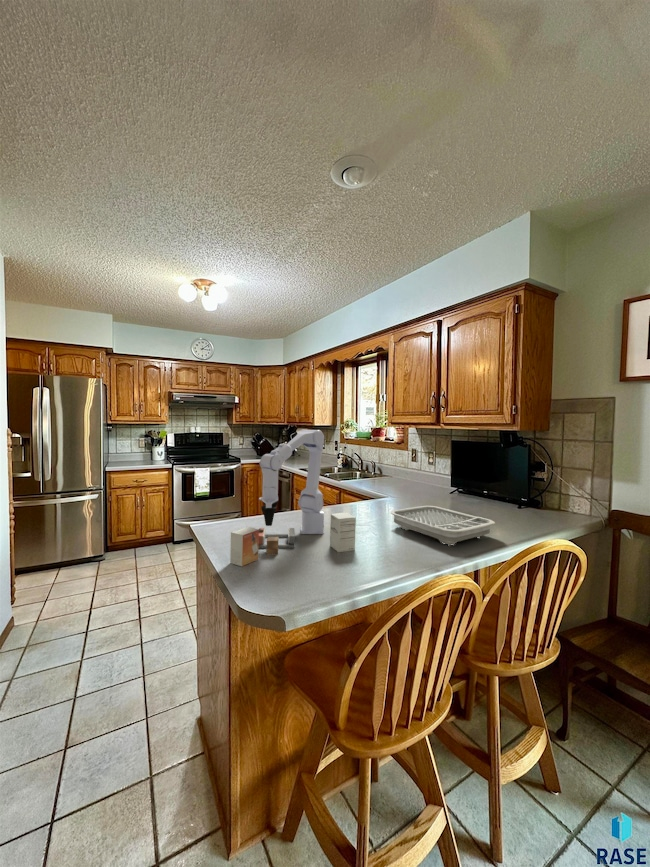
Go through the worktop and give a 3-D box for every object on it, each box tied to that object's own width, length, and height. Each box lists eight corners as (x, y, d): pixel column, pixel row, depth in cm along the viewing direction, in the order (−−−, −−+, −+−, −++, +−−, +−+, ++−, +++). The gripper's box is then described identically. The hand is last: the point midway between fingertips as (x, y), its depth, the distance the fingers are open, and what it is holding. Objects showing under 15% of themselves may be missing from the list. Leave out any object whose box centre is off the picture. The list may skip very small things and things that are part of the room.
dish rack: (430, 518, 179) (430, 502, 178) (500, 539, 148) (501, 521, 148) (384, 527, 161) (384, 510, 161) (452, 554, 131) (453, 533, 130)
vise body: (294, 536, 145) (294, 526, 145) (294, 548, 132) (294, 537, 132) (252, 536, 143) (252, 527, 143) (248, 548, 130) (248, 537, 130)
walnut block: (278, 550, 129) (278, 536, 129) (277, 554, 125) (278, 540, 125) (267, 550, 129) (267, 537, 129) (266, 554, 125) (266, 540, 125)
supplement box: (329, 545, 135) (330, 513, 134) (346, 543, 138) (347, 511, 137) (337, 552, 128) (338, 518, 128) (355, 550, 131) (356, 516, 131)
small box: (241, 567, 114) (242, 535, 113) (229, 563, 117) (230, 532, 116) (258, 559, 121) (259, 529, 120) (247, 555, 124) (247, 526, 123)
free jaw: (265, 537, 142) (265, 525, 142) (263, 546, 132) (263, 533, 132) (259, 537, 142) (259, 525, 142) (257, 546, 132) (257, 533, 132)
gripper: (261, 482, 138) (260, 517, 138) (257, 490, 123) (256, 528, 124) (279, 482, 138) (278, 517, 139) (277, 490, 124) (276, 528, 124)
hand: (269, 522), depth 131 cm, fingers open, 7 cm apart
